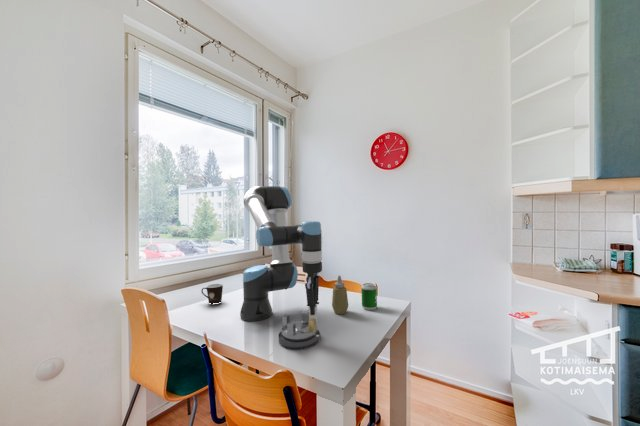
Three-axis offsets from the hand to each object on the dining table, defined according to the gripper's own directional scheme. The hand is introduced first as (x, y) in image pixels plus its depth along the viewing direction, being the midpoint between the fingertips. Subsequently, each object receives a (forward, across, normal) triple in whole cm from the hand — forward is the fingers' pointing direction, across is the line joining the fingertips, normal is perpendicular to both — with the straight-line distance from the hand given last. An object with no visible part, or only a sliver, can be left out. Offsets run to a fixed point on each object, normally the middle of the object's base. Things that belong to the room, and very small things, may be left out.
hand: (313, 321), depth 101 cm
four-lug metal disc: (+5, +1, -6) cm, 7 cm away
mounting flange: (+7, +1, -6) cm, 9 cm away
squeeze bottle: (+8, -29, +6) cm, 30 cm away
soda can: (+8, -36, +20) cm, 42 cm away
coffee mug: (+9, -32, -67) cm, 75 cm away
